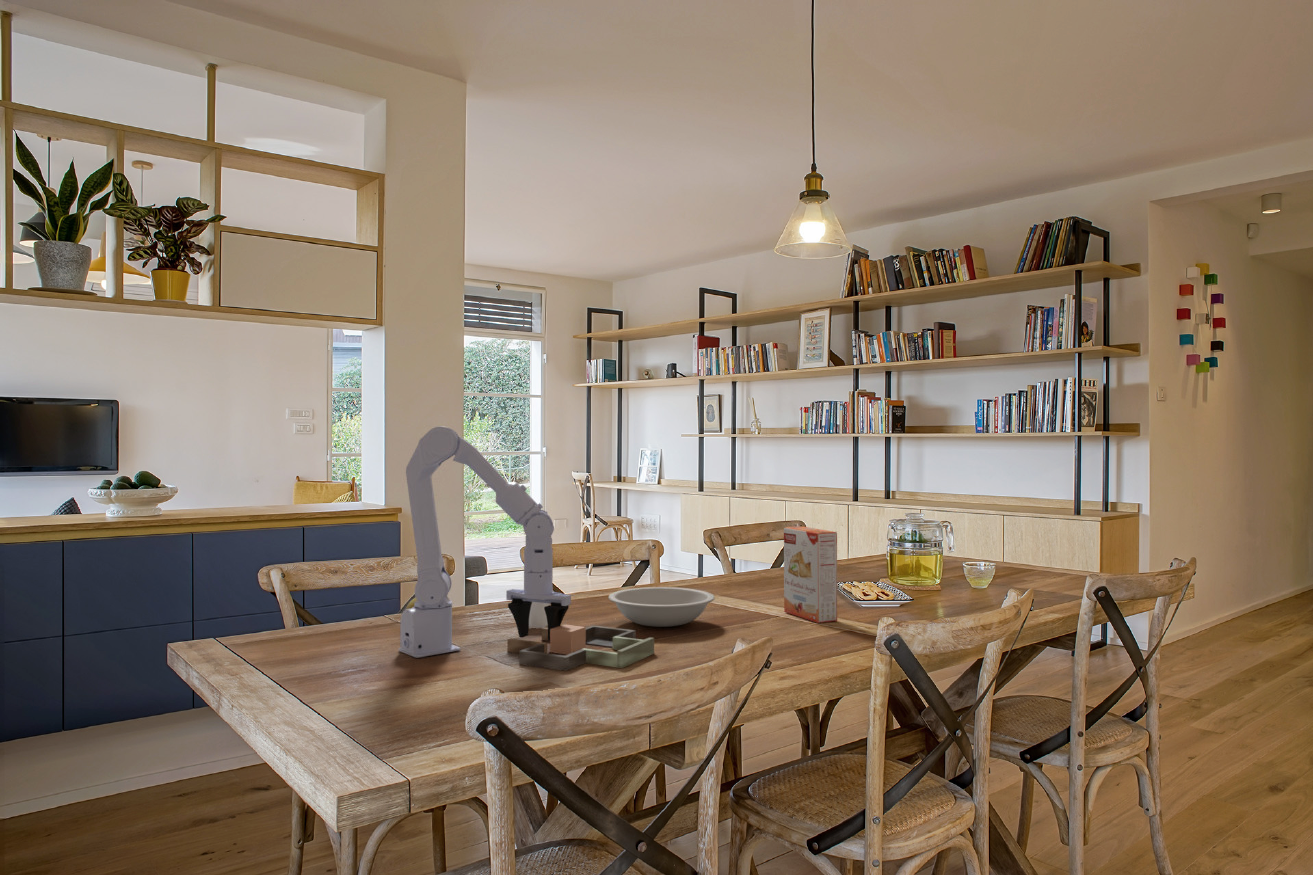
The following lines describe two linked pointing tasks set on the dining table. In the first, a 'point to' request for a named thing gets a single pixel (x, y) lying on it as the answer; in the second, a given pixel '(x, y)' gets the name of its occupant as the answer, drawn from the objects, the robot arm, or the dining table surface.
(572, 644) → the block
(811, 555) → the cracker box
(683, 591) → the soup bowl
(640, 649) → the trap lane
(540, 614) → the white cup
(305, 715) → the dining table surface
